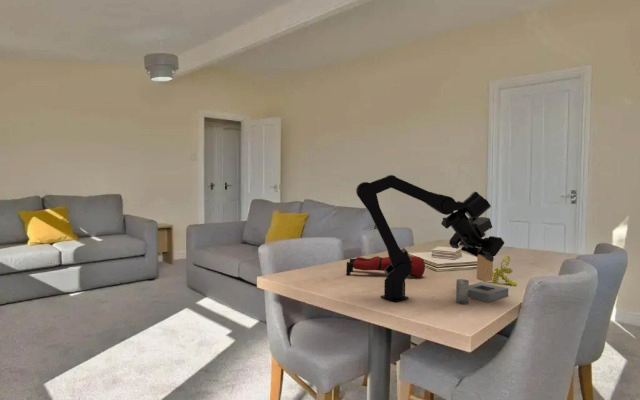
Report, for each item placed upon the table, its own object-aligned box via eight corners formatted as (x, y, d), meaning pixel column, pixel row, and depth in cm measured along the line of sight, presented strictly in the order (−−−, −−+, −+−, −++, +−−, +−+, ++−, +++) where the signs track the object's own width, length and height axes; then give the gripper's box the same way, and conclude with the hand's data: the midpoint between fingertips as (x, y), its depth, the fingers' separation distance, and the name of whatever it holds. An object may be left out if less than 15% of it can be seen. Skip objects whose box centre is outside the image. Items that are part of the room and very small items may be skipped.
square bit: (484, 281, 139) (485, 244, 139) (476, 279, 143) (477, 242, 142) (492, 280, 141) (493, 243, 140) (484, 278, 144) (485, 242, 143)
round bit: (463, 305, 131) (464, 282, 131) (453, 302, 134) (454, 280, 134) (470, 303, 134) (471, 280, 133) (460, 300, 136) (460, 278, 136)
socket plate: (488, 302, 134) (489, 294, 134) (460, 295, 142) (460, 287, 142) (508, 295, 142) (508, 288, 142) (480, 289, 150) (480, 282, 150)
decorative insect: (497, 297, 158) (478, 275, 161) (498, 295, 160) (480, 273, 164) (526, 278, 152) (507, 255, 155) (528, 276, 155) (508, 253, 158)
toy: (341, 282, 160) (424, 287, 153) (341, 260, 160) (425, 264, 153) (353, 267, 187) (424, 270, 180) (353, 248, 187) (425, 251, 180)
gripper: (501, 211, 130) (525, 245, 136) (456, 207, 147) (480, 237, 152) (480, 238, 127) (506, 272, 133) (438, 231, 144) (462, 261, 150)
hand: (488, 259), depth 142 cm, fingers closed on square bit, 3 cm apart
